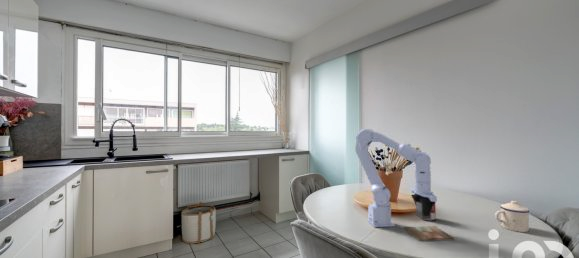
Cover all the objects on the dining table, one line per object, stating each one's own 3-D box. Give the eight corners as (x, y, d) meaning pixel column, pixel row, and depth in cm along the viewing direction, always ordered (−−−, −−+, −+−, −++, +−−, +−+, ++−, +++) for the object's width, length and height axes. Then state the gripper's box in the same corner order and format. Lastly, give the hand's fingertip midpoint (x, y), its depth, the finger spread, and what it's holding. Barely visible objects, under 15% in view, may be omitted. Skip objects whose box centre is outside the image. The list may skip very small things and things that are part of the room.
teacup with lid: (517, 224, 107) (517, 198, 107) (535, 233, 98) (535, 204, 98) (488, 223, 108) (488, 197, 108) (503, 231, 99) (503, 204, 99)
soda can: (438, 221, 110) (437, 196, 110) (422, 220, 111) (421, 195, 111) (432, 216, 117) (432, 192, 117) (417, 215, 118) (417, 191, 118)
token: (421, 219, 98) (421, 204, 98) (416, 215, 102) (415, 201, 102) (431, 218, 98) (430, 204, 98) (425, 215, 102) (424, 201, 102)
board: (419, 240, 92) (419, 238, 92) (403, 228, 103) (403, 226, 103) (453, 239, 92) (453, 237, 92) (435, 227, 103) (434, 225, 103)
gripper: (444, 185, 93) (444, 219, 93) (421, 177, 108) (421, 207, 108) (426, 185, 93) (427, 220, 93) (406, 178, 107) (406, 208, 107)
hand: (423, 213), depth 100 cm, fingers closed on token, 4 cm apart
